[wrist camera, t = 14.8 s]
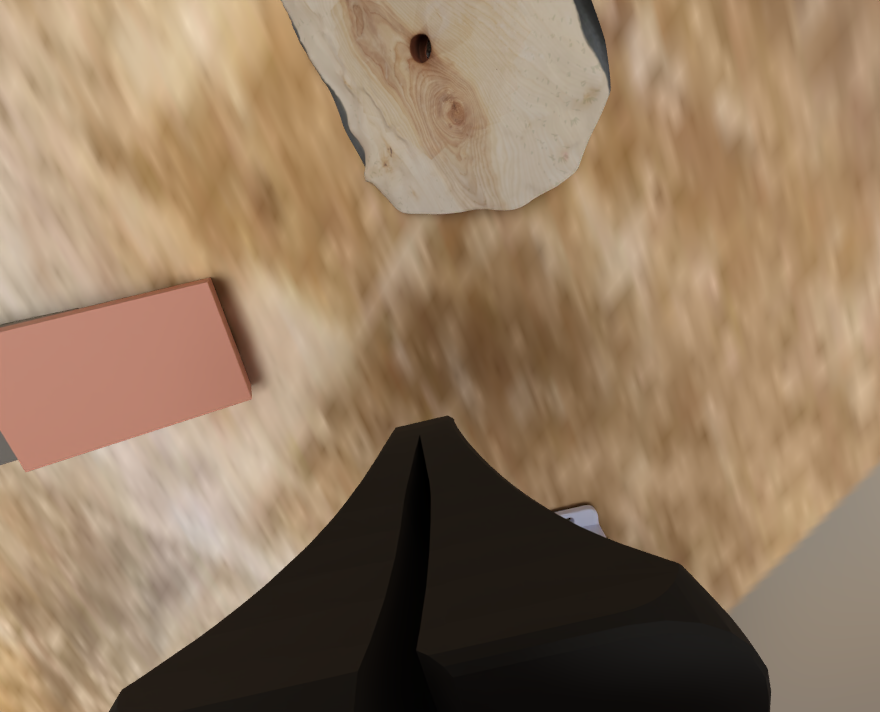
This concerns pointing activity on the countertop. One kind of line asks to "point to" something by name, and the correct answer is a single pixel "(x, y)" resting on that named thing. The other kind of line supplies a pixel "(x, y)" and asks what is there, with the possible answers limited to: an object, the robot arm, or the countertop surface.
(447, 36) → the wooden slab
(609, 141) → the countertop surface
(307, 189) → the countertop surface
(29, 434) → the loose domino
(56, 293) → the countertop surface
